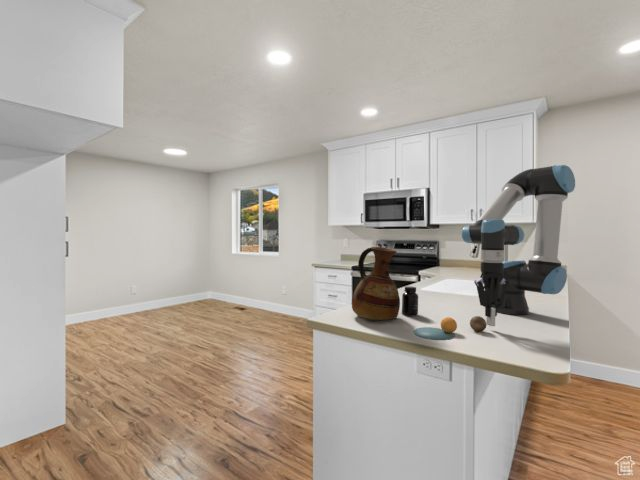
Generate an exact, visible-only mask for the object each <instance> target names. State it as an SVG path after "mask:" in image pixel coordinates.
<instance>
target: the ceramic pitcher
mask: <svg viewBox="0 0 640 480" xmlns="http://www.w3.org/2000/svg"><path fill="white" fill-rule="evenodd" d="M370 253H373V254H374V267H373V269H372V270H371V273H370V274H366V272H365V264H364V263H365V259H366V257H367V256H368V254H370ZM396 253H398V251H397V250H395V249H390V248H387V247H380V246H377V247H376V246H374V245H373V246H371V247H367V248H366V249H364V250H363V251H362V253H360V256H359V258H358V262H357V263H358V265H357V266H358V270H359V275H360V282H358V284H357V285H356V288H355V290H354V292H353V294H352V299H351V309H352V311H353V313H354V314H355V315H356V316H358V317H360V318H362V319H365V320H372V321H387V320H392V319H396V318H397V317H398V315H399V314H400V313H399V312H400V307H401V306H400V305H401V298H400V293H399V290H398V287H397V285H396V283H395V281H394V280H393V279H392V278H391V277H390V271H389V270H390V269H389V268H390V265H391V259H392V257H393V256H395V254H396Z"/></svg>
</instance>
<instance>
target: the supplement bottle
mask: <svg viewBox="0 0 640 480" xmlns="http://www.w3.org/2000/svg"><path fill="white" fill-rule="evenodd" d="M403 291H404V292H403V293H402V294H401V314H402V315H403V316H408V317H416V316H418V314H419V295H418V293H417V287H416V286H410V285H409V286H404V290H403Z"/></svg>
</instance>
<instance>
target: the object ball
mask: <svg viewBox="0 0 640 480" xmlns="http://www.w3.org/2000/svg"><path fill="white" fill-rule="evenodd" d="M457 328H458V324H457V322H456V320H455V319H454V318H453V317H450V316H449V317H448V316H447V317H443V319H442V320H441V321H440V329H442V330H443V331H445V332H446V333H454V332H456V330H457Z"/></svg>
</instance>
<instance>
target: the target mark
mask: <svg viewBox="0 0 640 480" xmlns="http://www.w3.org/2000/svg"><path fill="white" fill-rule="evenodd" d="M412 332H413V333H412V334H414V335H415V336H417V337H419V338H423V339H427V340H434V341H444V340H445V341H447V339H448V340H451V338H452V339H454V338H455V334H454V332H452V333H446V332H445V331H443V330H442V328H441V327H440V328H439V327H429V326H428V327H426V326H425V327H417V328H415V329H413V330H412ZM453 337H454V338H453Z"/></svg>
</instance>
